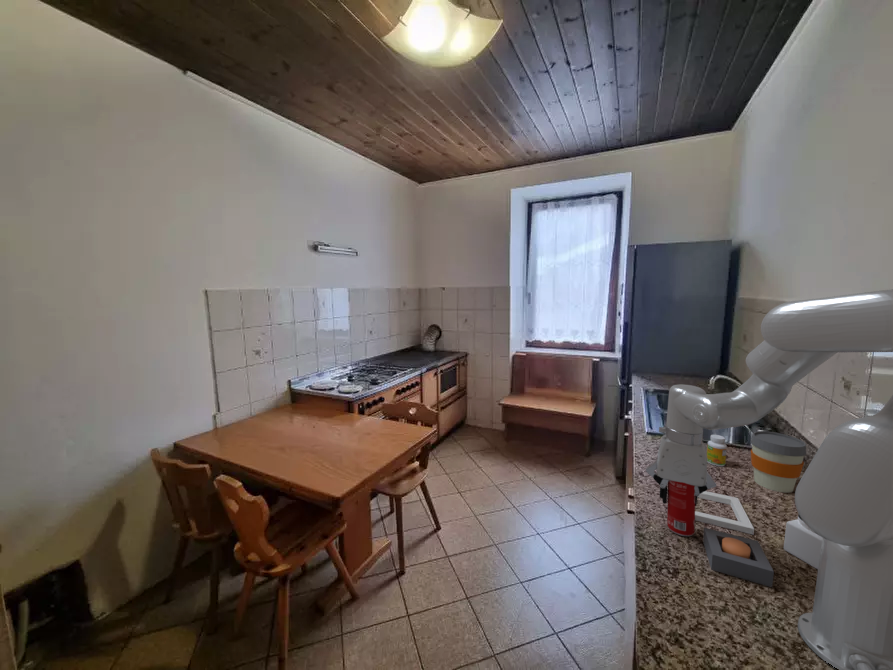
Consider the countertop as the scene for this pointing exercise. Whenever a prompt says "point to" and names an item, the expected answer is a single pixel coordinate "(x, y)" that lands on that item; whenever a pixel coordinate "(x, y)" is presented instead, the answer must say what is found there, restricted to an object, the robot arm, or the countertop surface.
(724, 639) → the countertop surface
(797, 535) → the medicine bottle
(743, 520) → the white picture frame
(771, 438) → the reusable coffee cup
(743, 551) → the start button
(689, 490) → the beverage can
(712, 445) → the supplement bottle
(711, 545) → the grey square holder
